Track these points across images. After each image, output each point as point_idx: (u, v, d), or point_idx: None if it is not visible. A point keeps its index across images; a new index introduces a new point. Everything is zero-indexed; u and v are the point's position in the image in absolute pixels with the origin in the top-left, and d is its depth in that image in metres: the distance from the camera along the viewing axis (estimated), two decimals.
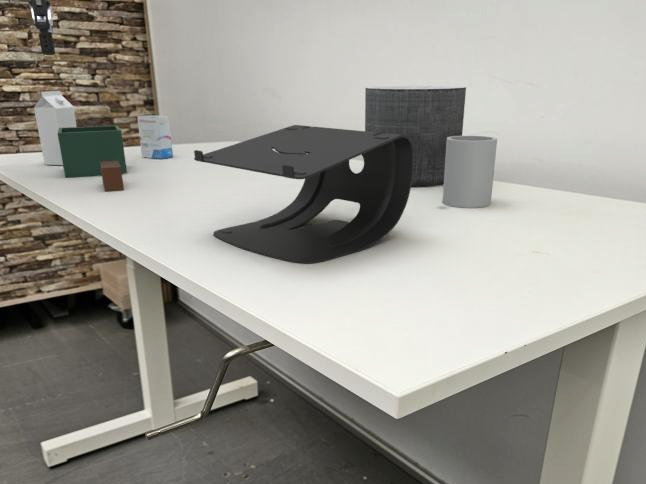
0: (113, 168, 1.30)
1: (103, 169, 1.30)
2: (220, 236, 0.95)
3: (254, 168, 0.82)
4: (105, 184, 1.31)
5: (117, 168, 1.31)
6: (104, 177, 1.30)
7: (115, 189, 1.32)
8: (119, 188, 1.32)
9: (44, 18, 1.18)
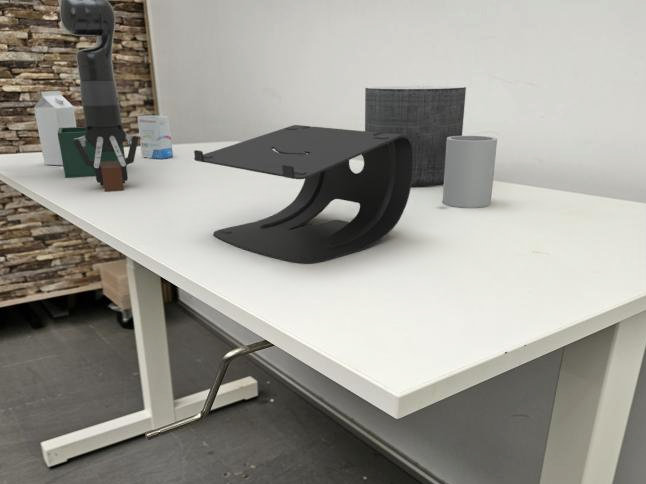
0: (113, 168, 1.30)
1: (103, 169, 1.30)
2: (220, 236, 0.95)
3: (254, 168, 0.82)
4: (105, 184, 1.31)
5: (117, 168, 1.31)
6: (104, 177, 1.30)
7: (115, 189, 1.32)
8: (119, 188, 1.32)
9: None
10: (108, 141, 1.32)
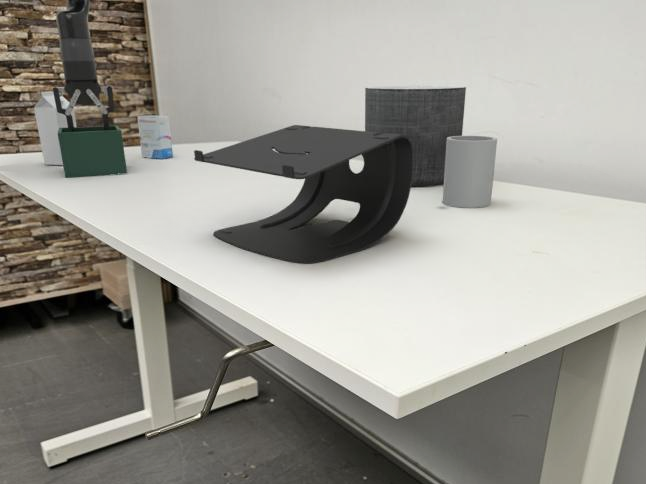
0: None
1: None
2: (220, 236, 0.95)
3: (254, 168, 0.82)
4: None
5: None
6: None
7: None
8: None
9: (69, 104, 1.49)
10: (85, 94, 1.49)
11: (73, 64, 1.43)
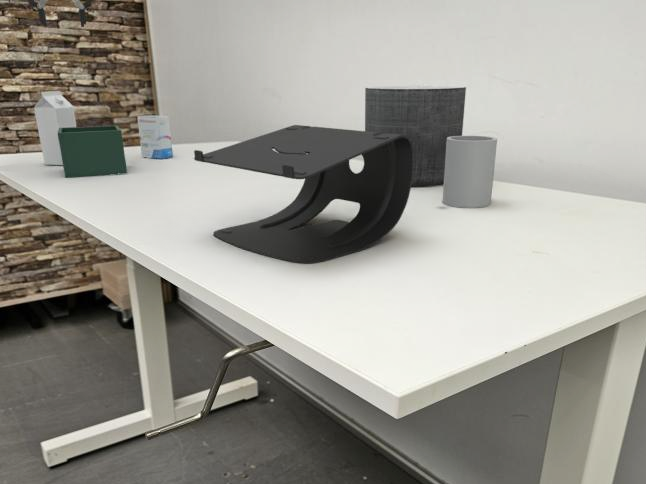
0: None
1: None
2: (220, 236, 0.95)
3: (254, 168, 0.82)
4: None
5: None
6: None
7: None
8: None
9: None
10: None
11: None
